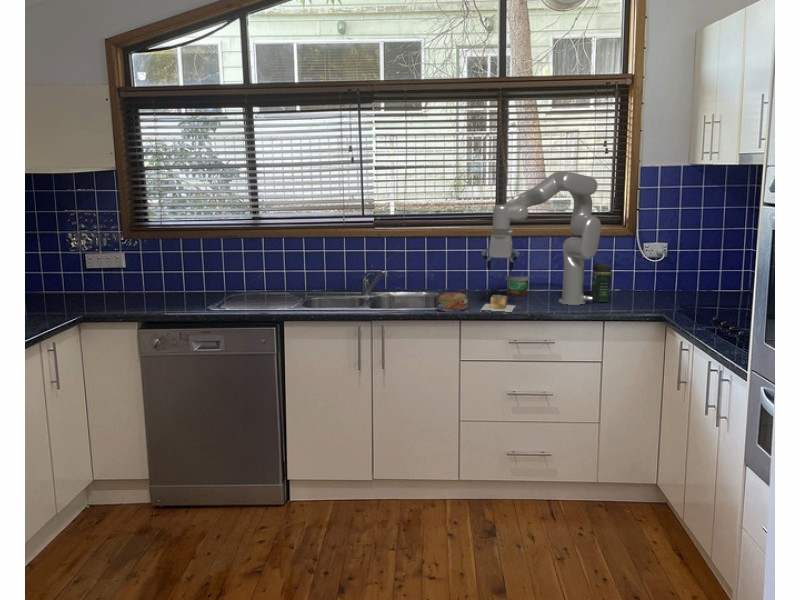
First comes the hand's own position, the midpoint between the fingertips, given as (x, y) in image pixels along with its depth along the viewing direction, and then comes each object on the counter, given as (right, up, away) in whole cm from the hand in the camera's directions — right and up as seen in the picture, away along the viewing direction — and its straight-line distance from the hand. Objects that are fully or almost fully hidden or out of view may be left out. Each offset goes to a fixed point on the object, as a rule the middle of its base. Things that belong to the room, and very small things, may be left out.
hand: (500, 270), depth 313 cm
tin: (-22, -19, +1) cm, 29 cm away
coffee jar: (+52, -14, +24) cm, 59 cm away
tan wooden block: (0, -17, +3) cm, 17 cm away
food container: (+14, -11, +37) cm, 41 cm away
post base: (0, -18, +3) cm, 18 cm away
